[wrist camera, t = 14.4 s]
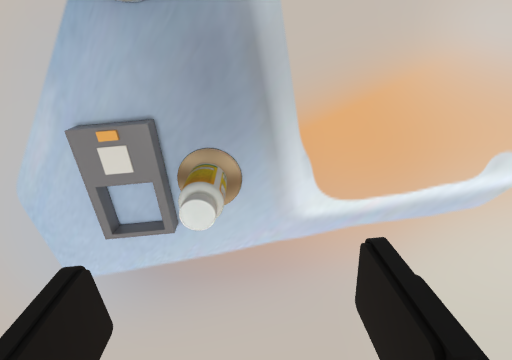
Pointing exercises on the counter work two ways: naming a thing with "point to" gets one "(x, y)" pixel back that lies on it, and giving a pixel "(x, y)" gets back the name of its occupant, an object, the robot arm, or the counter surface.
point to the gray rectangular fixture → (122, 171)
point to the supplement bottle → (202, 196)
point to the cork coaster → (218, 159)
